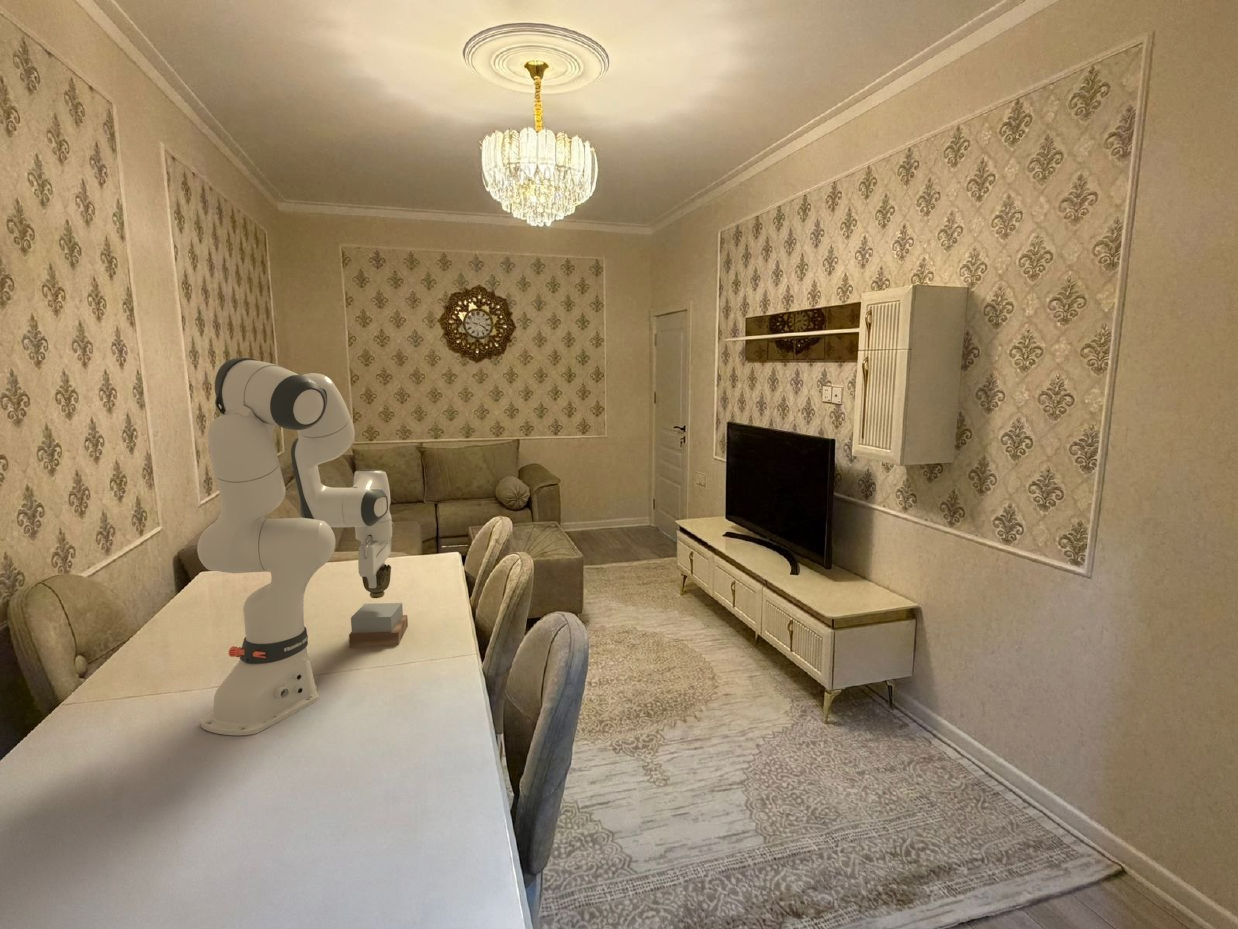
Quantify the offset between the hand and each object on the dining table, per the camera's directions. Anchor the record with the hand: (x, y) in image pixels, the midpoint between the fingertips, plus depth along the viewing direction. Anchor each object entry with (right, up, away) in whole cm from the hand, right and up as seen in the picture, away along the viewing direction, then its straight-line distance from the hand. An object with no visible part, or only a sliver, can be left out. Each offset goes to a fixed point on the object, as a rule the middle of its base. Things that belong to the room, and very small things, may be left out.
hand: (376, 582), depth 165 cm
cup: (0, -4, 0) cm, 4 cm away
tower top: (0, -11, +1) cm, 11 cm away
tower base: (0, -15, +2) cm, 15 cm away
